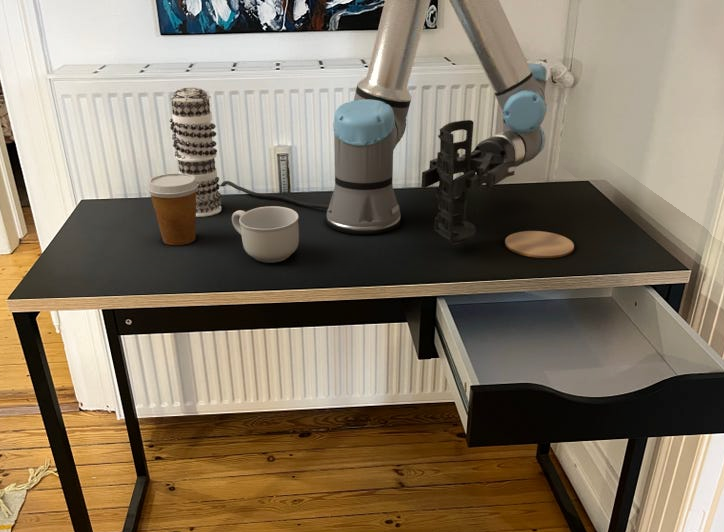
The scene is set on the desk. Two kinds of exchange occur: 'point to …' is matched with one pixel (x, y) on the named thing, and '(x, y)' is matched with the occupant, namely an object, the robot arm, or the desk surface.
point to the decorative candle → (196, 146)
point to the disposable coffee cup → (175, 206)
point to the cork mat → (539, 244)
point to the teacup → (268, 232)
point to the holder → (446, 182)
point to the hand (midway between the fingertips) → (439, 183)
